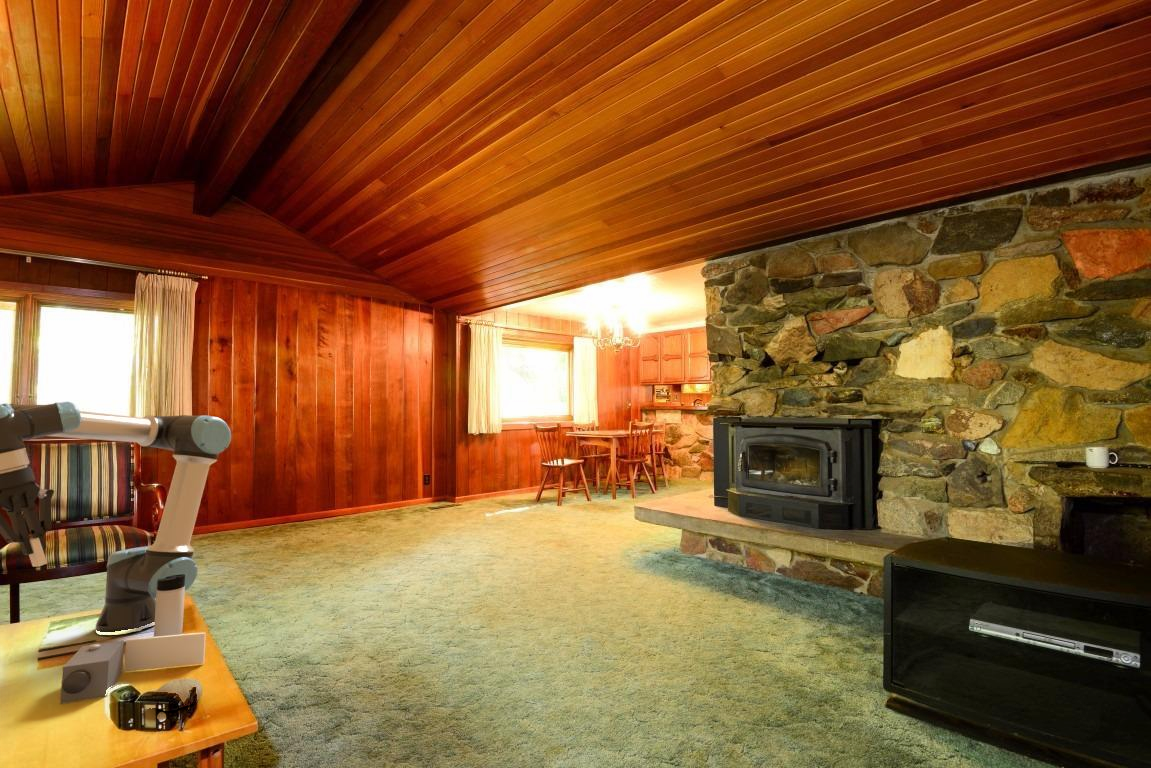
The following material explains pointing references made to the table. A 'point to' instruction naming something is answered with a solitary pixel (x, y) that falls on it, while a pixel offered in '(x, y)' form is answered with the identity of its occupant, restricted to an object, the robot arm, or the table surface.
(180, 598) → the travel mug
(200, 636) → the side door
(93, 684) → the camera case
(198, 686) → the sea urchin shell
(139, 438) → the robot arm
